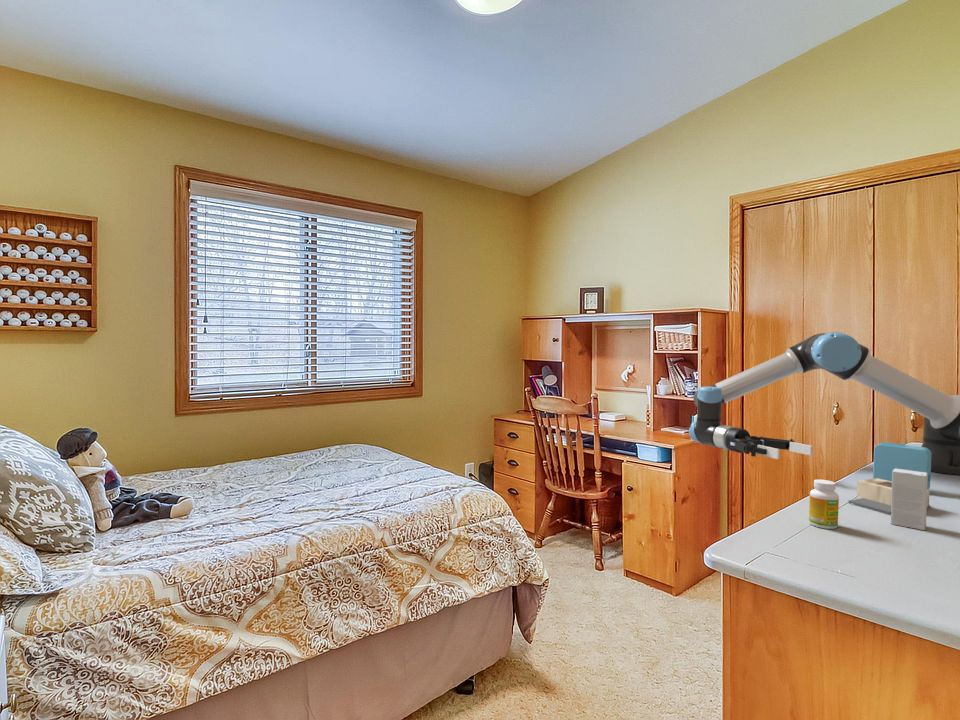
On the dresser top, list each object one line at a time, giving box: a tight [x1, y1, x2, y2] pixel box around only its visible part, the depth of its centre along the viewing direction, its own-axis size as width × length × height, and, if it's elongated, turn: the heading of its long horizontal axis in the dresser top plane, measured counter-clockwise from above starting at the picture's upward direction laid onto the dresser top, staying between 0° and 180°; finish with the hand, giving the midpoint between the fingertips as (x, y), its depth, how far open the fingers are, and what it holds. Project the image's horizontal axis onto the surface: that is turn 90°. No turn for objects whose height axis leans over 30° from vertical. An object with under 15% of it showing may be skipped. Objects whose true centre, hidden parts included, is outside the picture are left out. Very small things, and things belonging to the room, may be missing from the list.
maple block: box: [856, 478, 931, 508], centre depth 135 cm, size 8×4×12 cm
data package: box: [872, 442, 932, 490], centre depth 149 cm, size 12×4×12 cm, turn 42°
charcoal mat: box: [847, 497, 930, 516], centre depth 134 cm, size 16×10×1 cm, turn 113°
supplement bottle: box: [808, 479, 840, 530], centre depth 119 cm, size 5×5×10 cm
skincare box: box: [890, 469, 928, 531], centre depth 119 cm, size 6×4×12 cm
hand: (795, 452), depth 151 cm, fingers open, 13 cm apart
